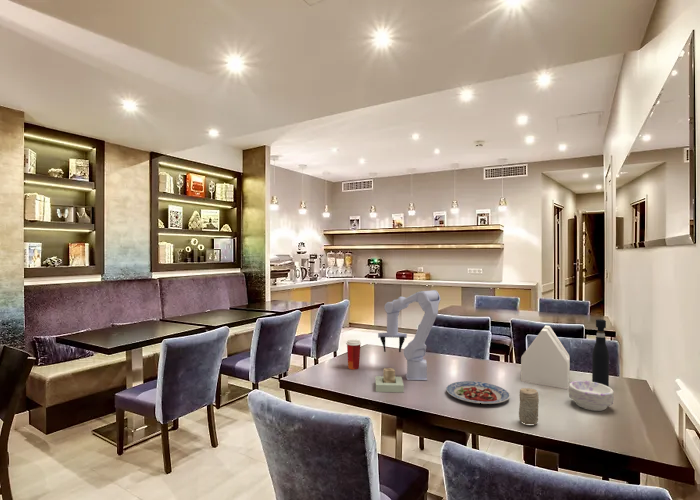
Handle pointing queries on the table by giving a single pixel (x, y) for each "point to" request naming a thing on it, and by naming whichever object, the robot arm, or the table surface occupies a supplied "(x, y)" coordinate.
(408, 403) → the table surface
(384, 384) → the socket block
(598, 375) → the wine bottle
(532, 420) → the jute twine spool
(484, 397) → the ceramic plate
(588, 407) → the white round bowl
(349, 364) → the paper cup
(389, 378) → the maple peg
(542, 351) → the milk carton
